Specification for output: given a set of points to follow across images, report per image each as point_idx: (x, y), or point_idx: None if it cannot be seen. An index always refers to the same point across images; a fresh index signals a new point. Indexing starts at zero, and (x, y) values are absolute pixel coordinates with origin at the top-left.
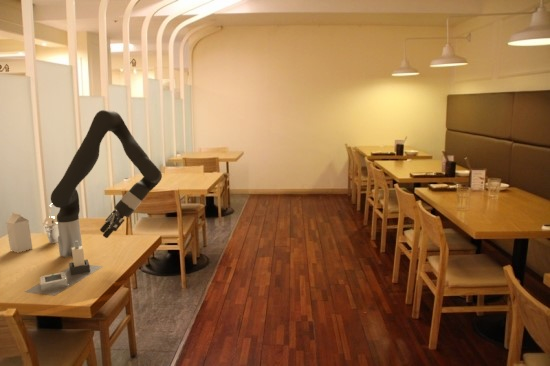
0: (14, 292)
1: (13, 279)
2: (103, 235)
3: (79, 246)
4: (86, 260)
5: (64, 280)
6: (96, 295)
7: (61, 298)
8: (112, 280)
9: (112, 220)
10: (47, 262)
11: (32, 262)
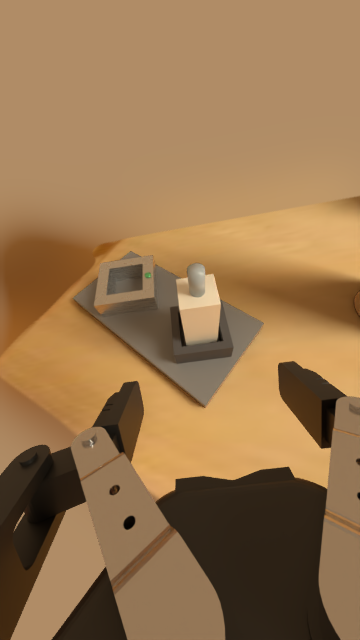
0: (158, 242)
1: (227, 229)
2: (125, 385)
3: (215, 296)
4: (222, 345)
5: (95, 302)
6: (28, 383)
7: (72, 313)
8: None
9: (89, 507)
10: (321, 263)
11: (328, 238)
